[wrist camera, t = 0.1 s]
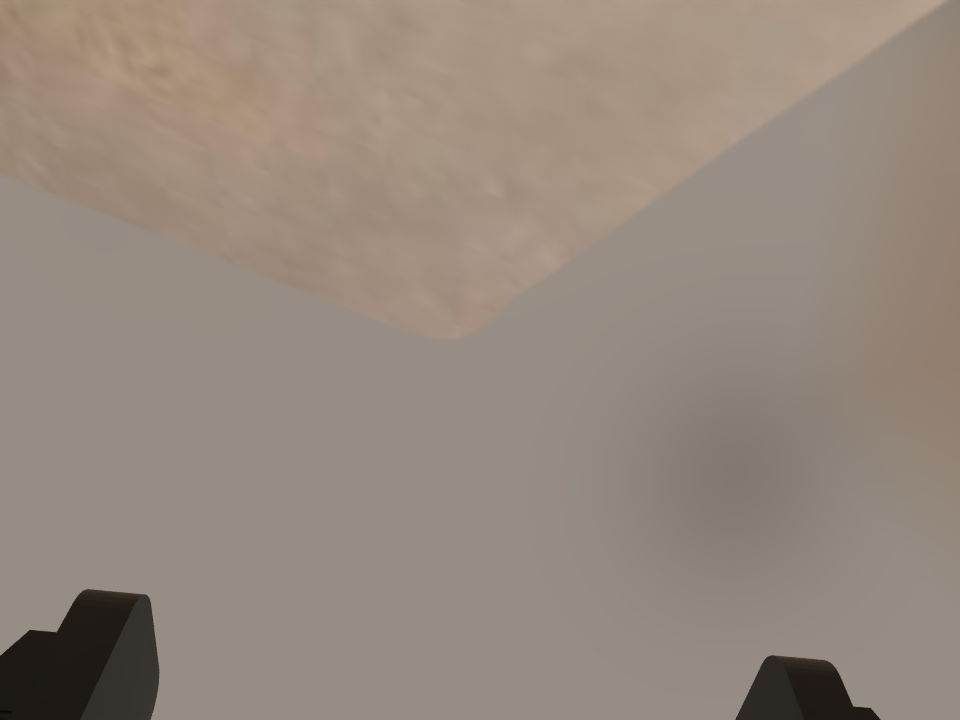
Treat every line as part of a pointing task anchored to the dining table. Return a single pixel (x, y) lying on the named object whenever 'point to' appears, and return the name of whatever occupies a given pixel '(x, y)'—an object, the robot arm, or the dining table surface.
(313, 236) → the dining table surface
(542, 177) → the dining table surface
